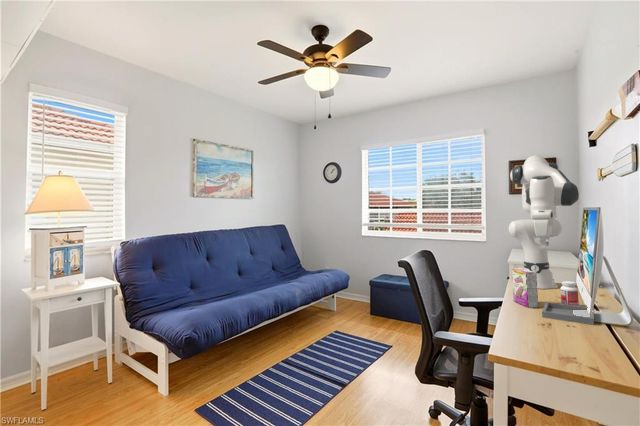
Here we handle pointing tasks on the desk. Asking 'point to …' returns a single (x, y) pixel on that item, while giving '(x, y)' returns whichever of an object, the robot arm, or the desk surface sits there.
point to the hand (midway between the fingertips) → (545, 246)
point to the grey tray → (566, 313)
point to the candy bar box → (525, 287)
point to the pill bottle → (569, 293)
